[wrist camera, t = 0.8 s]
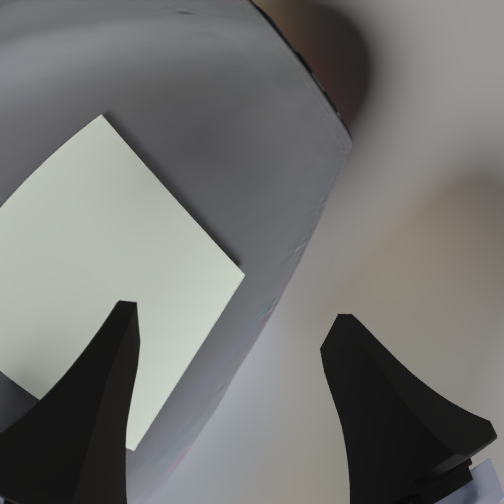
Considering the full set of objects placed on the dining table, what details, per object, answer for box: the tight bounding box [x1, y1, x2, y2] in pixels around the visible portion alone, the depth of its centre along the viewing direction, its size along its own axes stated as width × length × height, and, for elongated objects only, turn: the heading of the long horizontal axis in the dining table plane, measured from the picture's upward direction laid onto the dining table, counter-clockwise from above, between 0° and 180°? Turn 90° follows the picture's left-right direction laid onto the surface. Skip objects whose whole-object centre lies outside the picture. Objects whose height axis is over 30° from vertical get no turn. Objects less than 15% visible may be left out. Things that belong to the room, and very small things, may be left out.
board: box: [0, 115, 245, 451], centre depth 21 cm, size 20×20×2 cm
